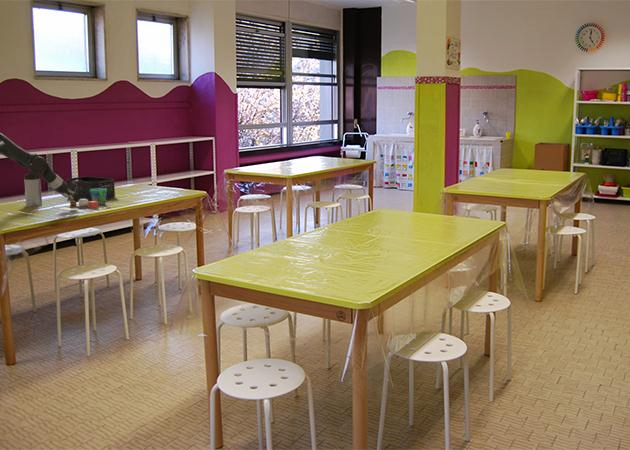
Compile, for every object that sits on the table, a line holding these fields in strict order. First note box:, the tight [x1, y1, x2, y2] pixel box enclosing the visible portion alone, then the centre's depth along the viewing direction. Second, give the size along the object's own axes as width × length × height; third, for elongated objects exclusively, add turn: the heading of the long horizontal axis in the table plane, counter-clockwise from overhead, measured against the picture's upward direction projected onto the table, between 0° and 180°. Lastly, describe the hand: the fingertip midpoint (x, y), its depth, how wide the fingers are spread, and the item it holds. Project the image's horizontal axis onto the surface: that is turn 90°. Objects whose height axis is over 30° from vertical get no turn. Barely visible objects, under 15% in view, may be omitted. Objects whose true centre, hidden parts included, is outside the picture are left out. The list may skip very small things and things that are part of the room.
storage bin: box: [65, 175, 116, 202], centre depth 457 cm, size 29×19×13 cm
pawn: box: [69, 190, 79, 209], centre depth 407 cm, size 5×5×10 cm
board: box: [58, 201, 99, 214], centre depth 413 cm, size 19×16×5 cm
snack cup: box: [90, 188, 107, 206], centre depth 430 cm, size 16×10×10 cm
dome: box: [78, 199, 89, 206], centre depth 416 cm, size 6×6×4 cm
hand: (76, 200), depth 409 cm, fingers closed on pawn, 3 cm apart
